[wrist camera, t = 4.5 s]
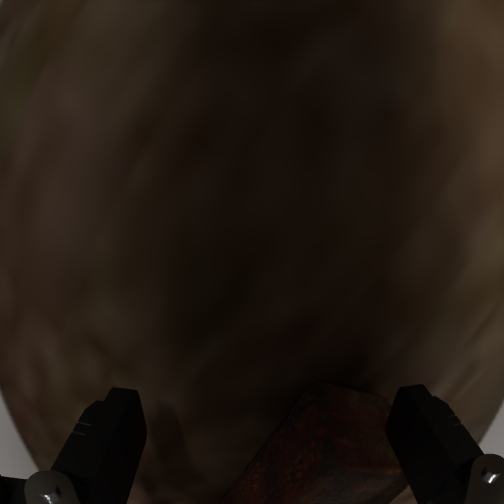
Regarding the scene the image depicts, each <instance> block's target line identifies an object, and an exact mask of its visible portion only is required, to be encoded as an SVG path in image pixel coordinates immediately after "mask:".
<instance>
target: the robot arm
mask: <svg viewBox="0 0 504 504" xmlns="http://www.w3.org/2000/svg"><path fill="white" fill-rule="evenodd" d="M386 434H387V438H388V440H389V442H390V444H391V447H392V449H393V451H394V453H395V455H396V457H397V459H398V461H399V464H400V466H401V468H402V470H403V472H404V474H405V476H406V479H407V481H408V483H409V485H410V487H411V490H412V492H413V494H414V496H415V498H416V501H417V503H418V504H504V458H503V457H501V456H499V455H496V454H484V453H483V452H482V450H481V449H480V447H479V446H478V445H477V443H476V442H475V440H474V439H473V438H472V436H471V435H470V434H469V432H468V431H467V429H466V428H465V427H464V425H463V424H462V425H461V421H460V420H459V419H458V417H457V416H455V413H454V412H453V411H452V409H451V408H450V407H449V405H448V404H447V403H445V402H444V401H442V400H441V399H439V398H438V397H436V396H433V397H432V395H431V394H430V392H429V391H428V390H427V388H426V387H425V386H424V385H423V384H417V385H411V386H405V387H400V388H399V389H398V391H397V393H396V396H395V399H394V402H393V405H392V408H391V411H390V414H389V417H388V419H387V423H386ZM146 438H147V426H146V422H145V418H144V414H143V409H142V405H141V401H140V397H139V393H138V391H137V390H131V389H124V388H117V387H113V388H112V389H111V390H110V391H109V393H108V395H107V397H106V399H105V400H104V401H98V400H97V401H95V402H94V403H93V404H91V405H90V406H89V407H87V408H86V409H85V410H84V412H83V414H82V415H81V417H80V419H79V420H78V423H77V424H76V425H75V427H74V429H73V433H71V434H70V436H69V438H68V439H67V441H66V443H65V445H64V446H63V448H62V450H61V452H60V453H59V455H58V457H57V459H56V461H55V463H54V464H53V466H52V468H51V469H50V470H42V471H38V472H36V473H34V474H33V475H31V476H30V477H29V478H28V479H18V478H11V477H4V476H1V475H0V504H127V500H128V497H129V494H130V490H131V487H132V484H133V481H134V478H135V474H136V471H137V468H138V465H139V462H140V459H141V455H142V452H143V449H144V446H145V443H146Z"/></svg>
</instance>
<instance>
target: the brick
mask: <svg viewBox="0 0 504 504" xmlns="http://www.w3.org/2000/svg"><path fill="white" fill-rule="evenodd" d="M391 408H392V406H391V405H390V404H389V403H388V400H387V399H386V398H385V397H382V396H379V395H374V394H371V393H367V392H363V391H359V390H354V389H349V388H345V387H342V386H338V385H334V384H330V383H326V382H322V381H319V382H316V383H314V384H312V385H311V386H309V387H308V388H307V389H306V390H305V391H304V392H303V394H302V395H301V397H300V399H299V401H298V402H296V404H295V406H294V407H293V409H292V410H291V412H290V414H289V415H288V417H287V419H286V420H285V421H284V422H283V423H282V425H281V426H280V427H279V428H278V429H277V430H276V431H274V432H273V433H272V434H271V436H270V437H269V439H268V440H267V442H266V443H265V445H264V446H263V447H262V448H261V450H260V452H259V453H258V454H257V455H256V456H255V458H254V459H253V461H252V462H251V464H250V465H249V466H248V467H247V469H246V470H245V471H244V473H243V474H242V475H241V477H240V478H239V479H238V480H237V482H236V483H235V484H234V485H233V486H232V488H231V489H230V491H229V492H228V493H227V494H226V495H225V497H224V498H223V499H222V500H221V503H220V504H389V503H390V502H391V501H392V500H393V499H394V498H396V497H397V496H398V495H399V494H400V493H401V492H403V491H404V490H405V489H406V487H407V486H408V485H409V483H408V481H407V479H406V476H405V474H404V472H403V470H402V468H401V466H400V464H399V461H398V459H397V457H396V455H395V453H394V451H393V449H392V447H391V444H390V442H389V440H388V438H387V434H386V423H387V419H388V417H389V414H390V411H391Z"/></svg>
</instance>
